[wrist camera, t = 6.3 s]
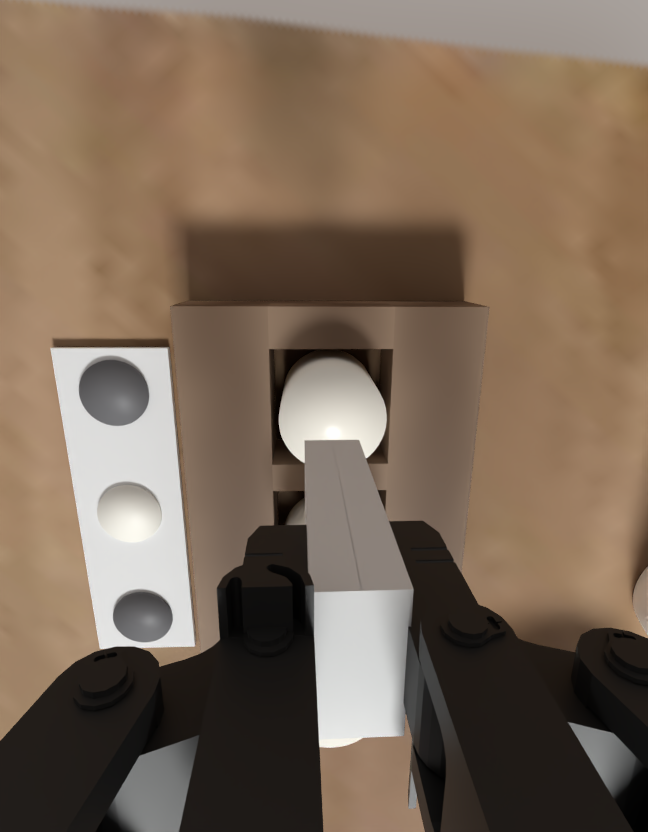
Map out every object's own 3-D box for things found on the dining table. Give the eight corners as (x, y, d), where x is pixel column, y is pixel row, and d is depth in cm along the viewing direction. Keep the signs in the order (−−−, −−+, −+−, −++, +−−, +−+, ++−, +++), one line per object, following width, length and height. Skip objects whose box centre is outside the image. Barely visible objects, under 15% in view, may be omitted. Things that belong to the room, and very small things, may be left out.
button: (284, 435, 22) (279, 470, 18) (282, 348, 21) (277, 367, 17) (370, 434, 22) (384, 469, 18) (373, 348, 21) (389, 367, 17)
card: (102, 644, 26) (98, 651, 25) (54, 347, 21) (48, 348, 21) (196, 642, 26) (194, 648, 26) (169, 346, 21) (166, 348, 21)
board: (217, 671, 27) (206, 720, 24) (188, 300, 21) (169, 306, 18) (431, 665, 27) (446, 713, 24) (464, 301, 21) (489, 307, 18)
